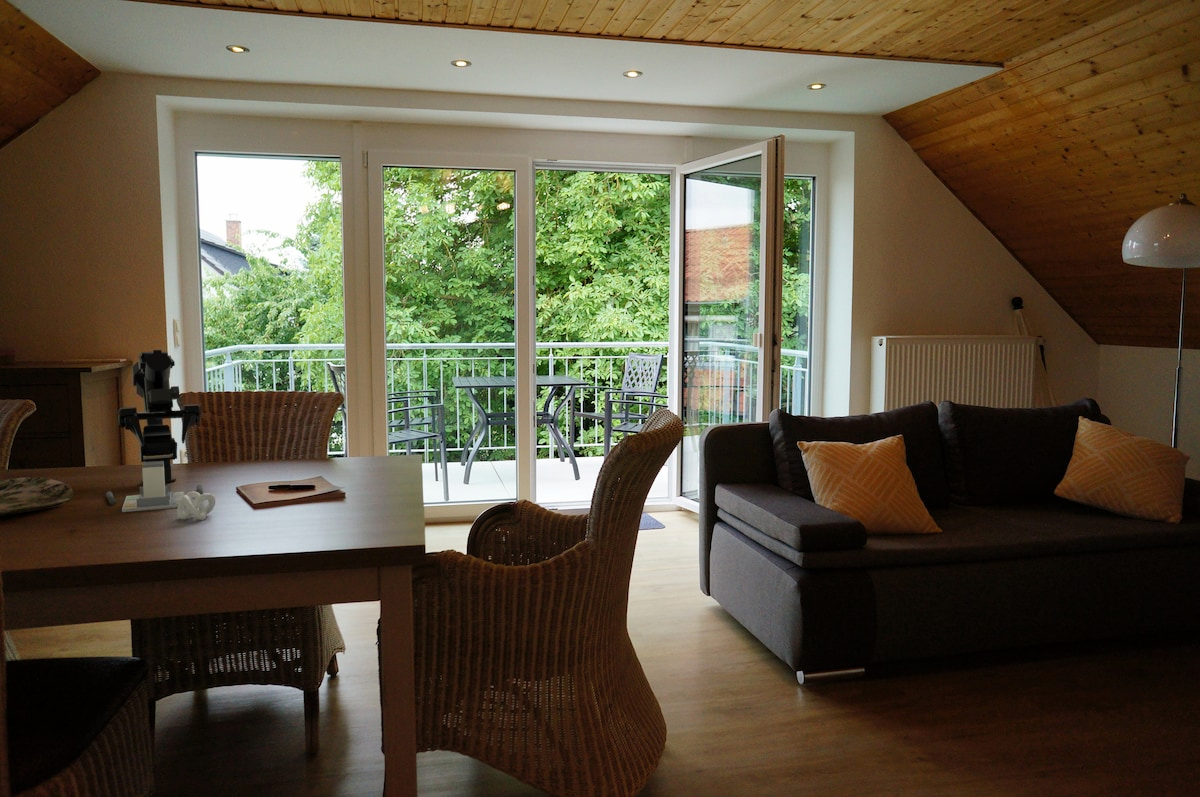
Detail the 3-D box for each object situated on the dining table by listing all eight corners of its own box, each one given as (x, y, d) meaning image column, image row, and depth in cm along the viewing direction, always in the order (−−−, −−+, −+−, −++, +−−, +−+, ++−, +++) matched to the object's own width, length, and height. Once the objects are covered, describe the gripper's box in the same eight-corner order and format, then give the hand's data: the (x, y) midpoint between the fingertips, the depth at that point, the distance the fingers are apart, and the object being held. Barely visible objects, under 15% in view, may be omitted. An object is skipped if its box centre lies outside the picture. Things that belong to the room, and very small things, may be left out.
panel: (126, 499, 211) (125, 488, 211) (184, 494, 217) (183, 483, 217) (122, 512, 197) (121, 500, 197) (184, 506, 203) (183, 495, 202)
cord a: (196, 489, 223) (196, 484, 223) (202, 489, 224) (202, 483, 224) (197, 498, 212) (196, 493, 212) (203, 497, 213) (202, 492, 213)
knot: (209, 512, 197) (208, 488, 197) (222, 518, 192) (221, 493, 191) (174, 517, 192) (173, 492, 192) (187, 524, 186) (185, 498, 186)
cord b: (105, 496, 214) (105, 491, 214) (112, 496, 215) (111, 490, 215) (109, 505, 204) (109, 500, 204) (116, 505, 205) (116, 499, 204)
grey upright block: (144, 498, 208) (143, 462, 207) (165, 496, 210) (163, 460, 209) (143, 502, 204) (142, 465, 203) (164, 500, 206) (163, 463, 205)
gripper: (117, 376, 210) (121, 430, 203) (199, 374, 220) (206, 425, 213) (117, 400, 218) (121, 452, 212) (196, 397, 228) (202, 447, 221)
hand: (163, 444), depth 214 cm, fingers open, 9 cm apart
